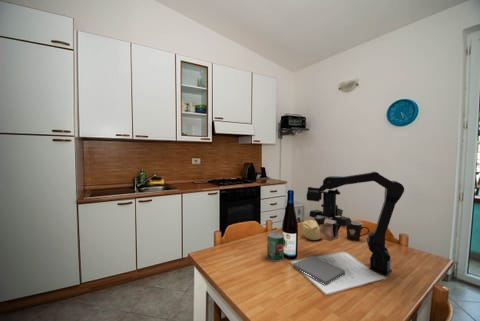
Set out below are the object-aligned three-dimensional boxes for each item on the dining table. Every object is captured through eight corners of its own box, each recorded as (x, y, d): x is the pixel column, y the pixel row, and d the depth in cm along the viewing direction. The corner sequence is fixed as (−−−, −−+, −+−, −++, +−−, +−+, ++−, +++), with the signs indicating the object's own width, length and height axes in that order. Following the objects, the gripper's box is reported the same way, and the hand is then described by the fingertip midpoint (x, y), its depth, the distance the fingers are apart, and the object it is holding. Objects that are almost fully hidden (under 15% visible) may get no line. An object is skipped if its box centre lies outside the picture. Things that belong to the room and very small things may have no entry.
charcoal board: (345, 274, 89) (345, 270, 89) (325, 285, 81) (325, 281, 81) (312, 258, 102) (312, 255, 102) (292, 267, 94) (292, 263, 94)
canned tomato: (283, 262, 98) (283, 238, 98) (266, 260, 100) (266, 237, 99) (283, 254, 106) (283, 232, 106) (267, 252, 107) (268, 231, 107)
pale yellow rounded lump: (298, 235, 131) (298, 218, 131) (315, 233, 135) (315, 216, 134) (309, 243, 120) (310, 224, 120) (327, 240, 124) (327, 222, 124)
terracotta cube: (338, 238, 101) (338, 226, 101) (330, 241, 98) (331, 228, 97) (326, 234, 106) (326, 222, 106) (319, 237, 103) (319, 224, 102)
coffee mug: (342, 237, 129) (342, 221, 128) (351, 235, 132) (352, 219, 132) (360, 245, 118) (360, 227, 118) (369, 242, 122) (370, 225, 122)
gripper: (357, 204, 98) (357, 237, 99) (322, 197, 114) (321, 226, 114) (344, 207, 92) (344, 243, 92) (309, 200, 107) (308, 230, 108)
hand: (328, 235), depth 102 cm, fingers closed on terracotta cube, 6 cm apart
